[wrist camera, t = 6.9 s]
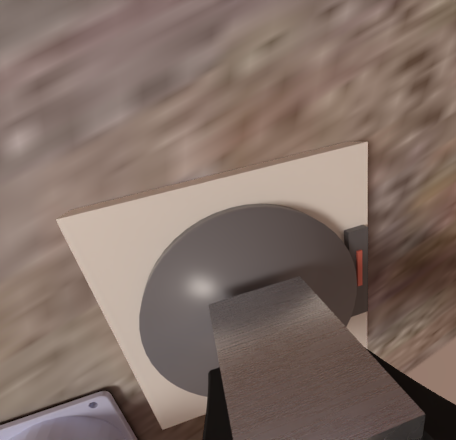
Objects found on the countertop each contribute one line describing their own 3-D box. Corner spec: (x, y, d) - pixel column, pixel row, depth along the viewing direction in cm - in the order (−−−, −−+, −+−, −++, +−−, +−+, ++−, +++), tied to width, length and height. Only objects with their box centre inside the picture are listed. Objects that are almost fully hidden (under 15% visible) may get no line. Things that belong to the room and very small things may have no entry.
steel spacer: (228, 372, 12) (272, 575, 6) (208, 304, 10) (242, 490, 5) (308, 345, 12) (413, 509, 7) (299, 275, 11) (425, 413, 5)
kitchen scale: (163, 405, 17) (161, 448, 14) (70, 209, 11) (43, 227, 9) (352, 338, 18) (377, 366, 16) (347, 141, 13) (384, 141, 11)
